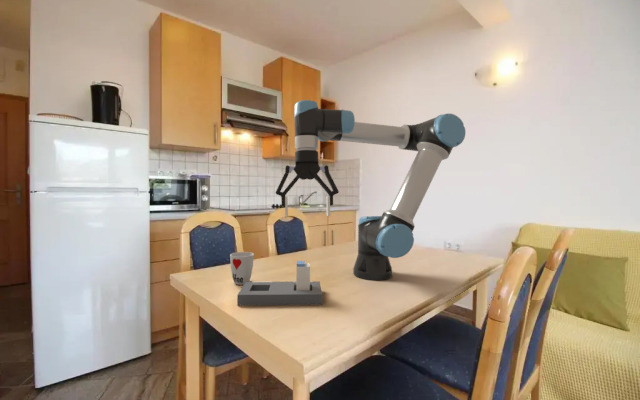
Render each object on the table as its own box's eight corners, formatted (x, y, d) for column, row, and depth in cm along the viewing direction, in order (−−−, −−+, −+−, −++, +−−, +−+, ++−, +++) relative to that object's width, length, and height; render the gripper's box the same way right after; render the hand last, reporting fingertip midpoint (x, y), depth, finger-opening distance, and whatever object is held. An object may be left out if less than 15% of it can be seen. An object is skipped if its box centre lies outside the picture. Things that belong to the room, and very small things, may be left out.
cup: (225, 282, 103) (225, 254, 103) (245, 277, 109) (245, 250, 109) (237, 287, 98) (238, 258, 98) (258, 282, 104) (258, 254, 103)
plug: (309, 294, 92) (309, 260, 92) (309, 299, 88) (310, 264, 88) (296, 295, 92) (297, 260, 91) (296, 299, 88) (296, 263, 87)
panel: (319, 290, 96) (319, 280, 96) (322, 304, 84) (322, 293, 84) (245, 290, 95) (245, 281, 95) (237, 305, 83) (237, 294, 83)
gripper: (342, 152, 100) (343, 214, 100) (268, 152, 97) (269, 216, 98) (347, 149, 92) (347, 216, 93) (266, 149, 89) (268, 218, 90)
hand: (307, 216), depth 95 cm, fingers open, 13 cm apart
